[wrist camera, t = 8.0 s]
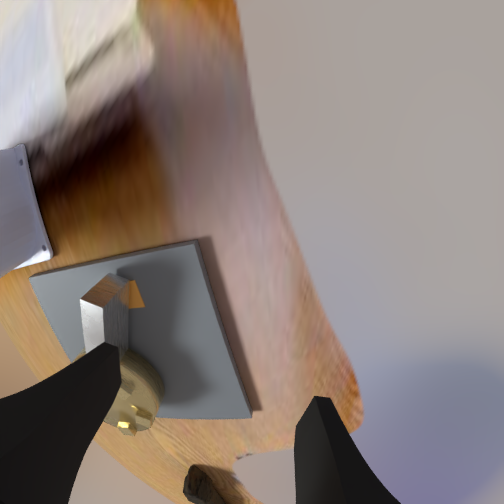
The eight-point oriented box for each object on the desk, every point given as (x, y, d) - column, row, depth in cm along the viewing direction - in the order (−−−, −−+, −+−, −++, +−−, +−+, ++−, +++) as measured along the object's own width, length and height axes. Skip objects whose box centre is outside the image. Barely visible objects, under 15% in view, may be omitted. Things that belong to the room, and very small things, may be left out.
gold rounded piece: (163, 417, 23) (150, 450, 19) (88, 387, 23) (70, 415, 19) (175, 293, 18) (152, 331, 14) (72, 259, 17) (37, 284, 14)
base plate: (34, 274, 20) (27, 278, 19) (197, 239, 17) (193, 244, 17) (107, 406, 25) (104, 411, 24) (252, 411, 23) (251, 418, 22)
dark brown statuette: (235, 506, 35) (232, 527, 30) (212, 504, 35) (209, 525, 31) (214, 464, 28) (208, 494, 24) (183, 460, 29) (175, 489, 24)
